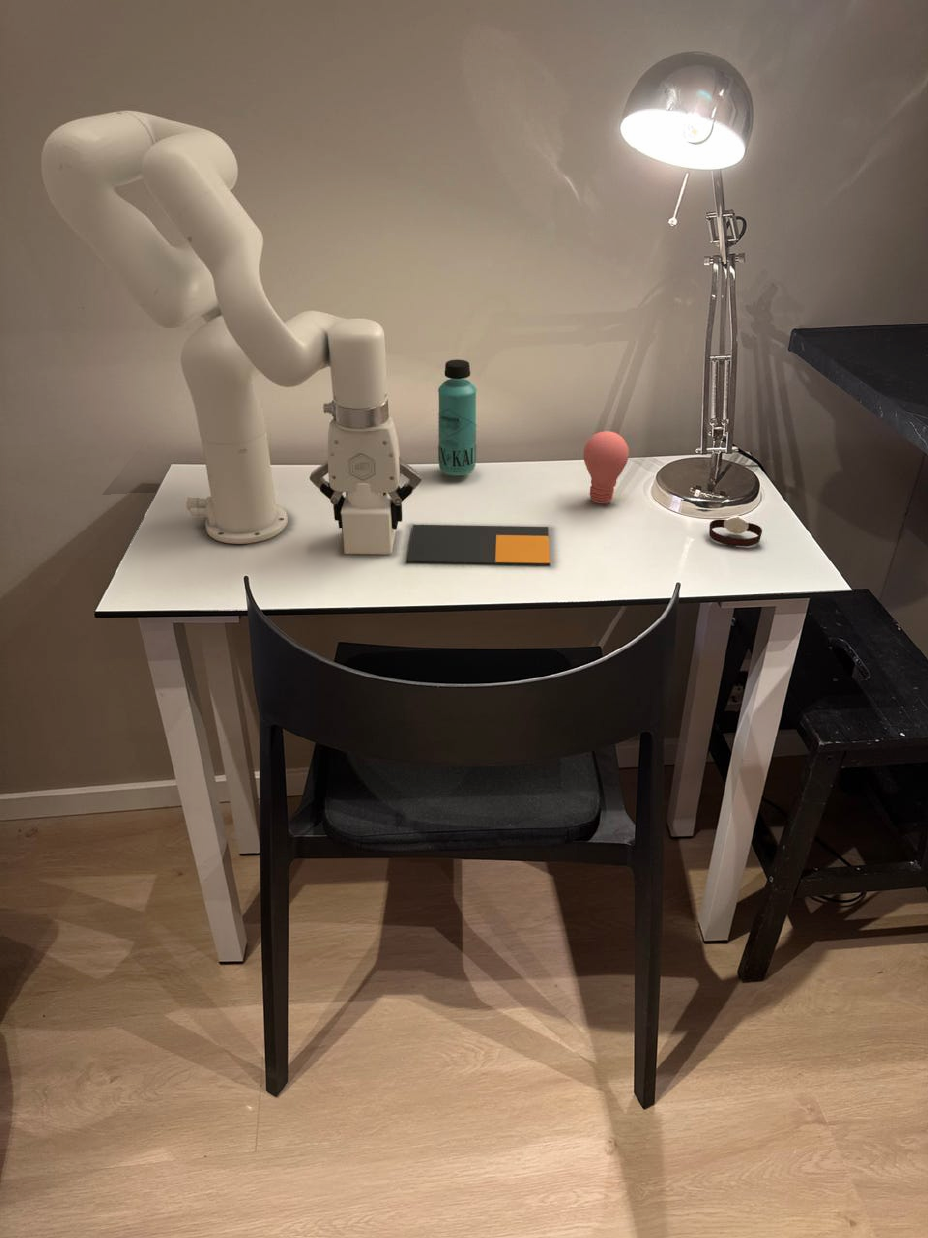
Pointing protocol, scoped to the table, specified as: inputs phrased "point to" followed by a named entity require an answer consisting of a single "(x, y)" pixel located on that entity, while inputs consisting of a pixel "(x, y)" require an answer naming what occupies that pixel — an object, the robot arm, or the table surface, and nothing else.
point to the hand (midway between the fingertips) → (369, 523)
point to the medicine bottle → (367, 522)
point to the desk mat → (479, 545)
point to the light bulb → (605, 463)
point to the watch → (735, 531)
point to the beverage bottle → (457, 420)
